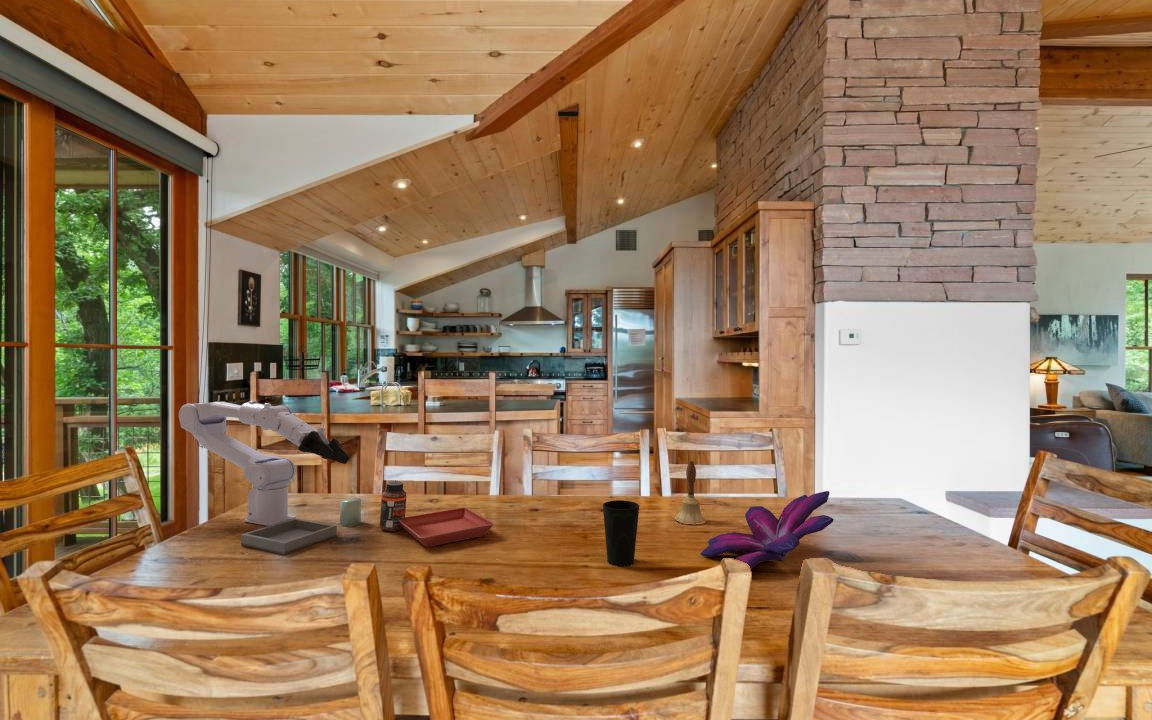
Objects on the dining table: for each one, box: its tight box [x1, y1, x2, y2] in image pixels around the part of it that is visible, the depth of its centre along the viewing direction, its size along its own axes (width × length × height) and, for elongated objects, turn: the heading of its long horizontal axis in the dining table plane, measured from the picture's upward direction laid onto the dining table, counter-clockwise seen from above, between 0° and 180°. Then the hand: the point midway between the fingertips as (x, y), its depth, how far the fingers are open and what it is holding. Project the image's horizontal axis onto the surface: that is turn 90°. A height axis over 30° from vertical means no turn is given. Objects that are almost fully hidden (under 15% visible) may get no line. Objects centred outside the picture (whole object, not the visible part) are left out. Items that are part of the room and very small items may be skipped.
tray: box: [240, 517, 338, 556], centre depth 127 cm, size 14×14×2 cm
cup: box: [602, 499, 640, 568], centre depth 115 cm, size 8×8×12 cm
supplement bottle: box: [379, 480, 407, 532], centre depth 136 cm, size 6×6×11 cm
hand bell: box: [674, 460, 707, 524], centre depth 145 cm, size 8×8×16 cm
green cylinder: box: [339, 497, 362, 527], centre depth 141 cm, size 5×5×6 cm
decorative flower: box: [699, 490, 835, 570], centre depth 116 cm, size 31×31×10 cm
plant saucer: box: [398, 507, 494, 548], centre depth 133 cm, size 18×18×3 cm
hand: (339, 457), depth 136 cm, fingers open, 7 cm apart
